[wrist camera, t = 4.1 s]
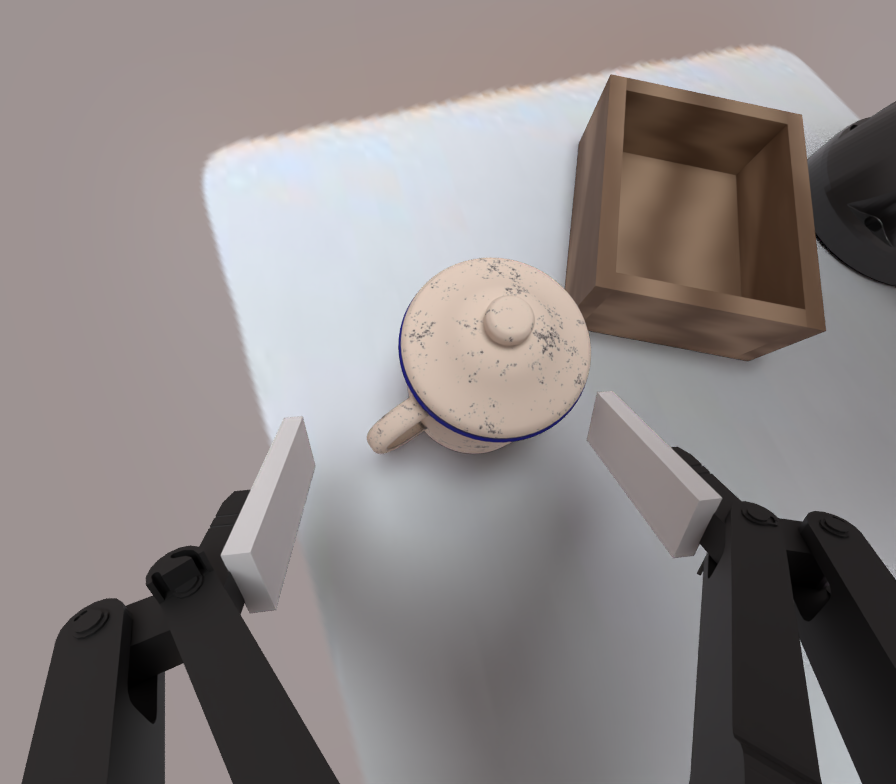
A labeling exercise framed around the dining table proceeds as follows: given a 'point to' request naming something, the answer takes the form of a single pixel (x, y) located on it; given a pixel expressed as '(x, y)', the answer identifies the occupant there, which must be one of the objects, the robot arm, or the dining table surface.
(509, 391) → the teacup with lid
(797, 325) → the walnut crate
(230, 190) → the dining table surface
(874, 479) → the dining table surface
